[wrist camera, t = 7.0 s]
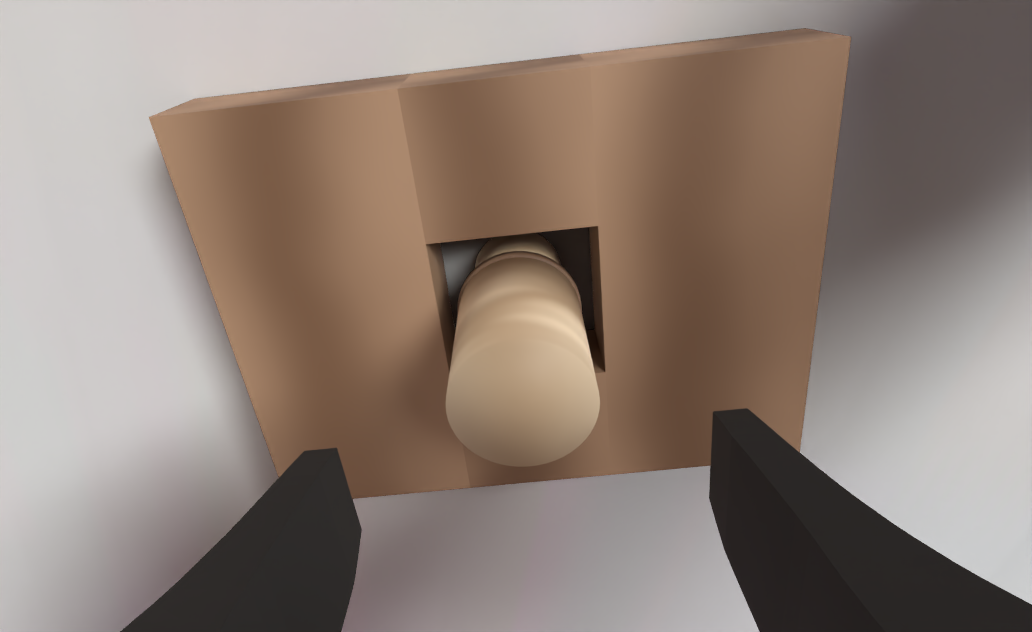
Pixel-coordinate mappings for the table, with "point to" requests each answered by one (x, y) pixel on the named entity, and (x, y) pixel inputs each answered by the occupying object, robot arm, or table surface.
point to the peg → (521, 357)
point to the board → (520, 210)
